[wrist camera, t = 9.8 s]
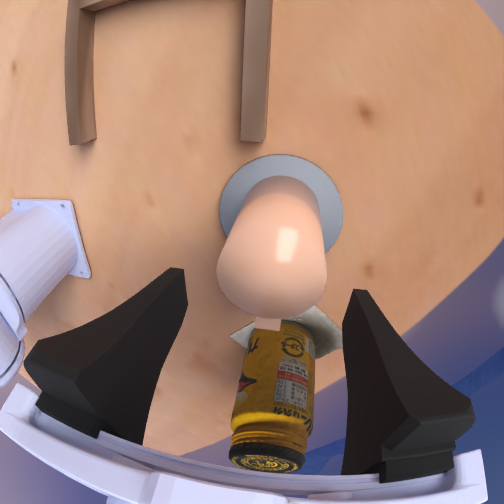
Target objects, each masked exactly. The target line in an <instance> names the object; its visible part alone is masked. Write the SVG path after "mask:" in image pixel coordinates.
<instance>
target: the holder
mask: <svg viewBox="0 0 504 504" xmlns="http://www.w3.org/2000/svg"><path fill="white" fill-rule="evenodd" d="M127 1H131V0H68V9H67V20H66V35H65V96H66V112H67V124H68V134H69V143H70V145H78V144H83V143H86V142H88V141H90V140H93V139H95V138H97V137H96V125H95V111H94V92H93V39H94V20H95V11H97V10H100V9H103V8H107V7H110V6H113V5H116V4H120V3H123V2H127ZM272 3H273V0H246V10H245V31H244V54H243V80H242V108H241V140H240V141H251V142H263V141H264V139H265V137H266V126H267V107H268V88H269V68H270V47H271V25H272Z"/></svg>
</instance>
